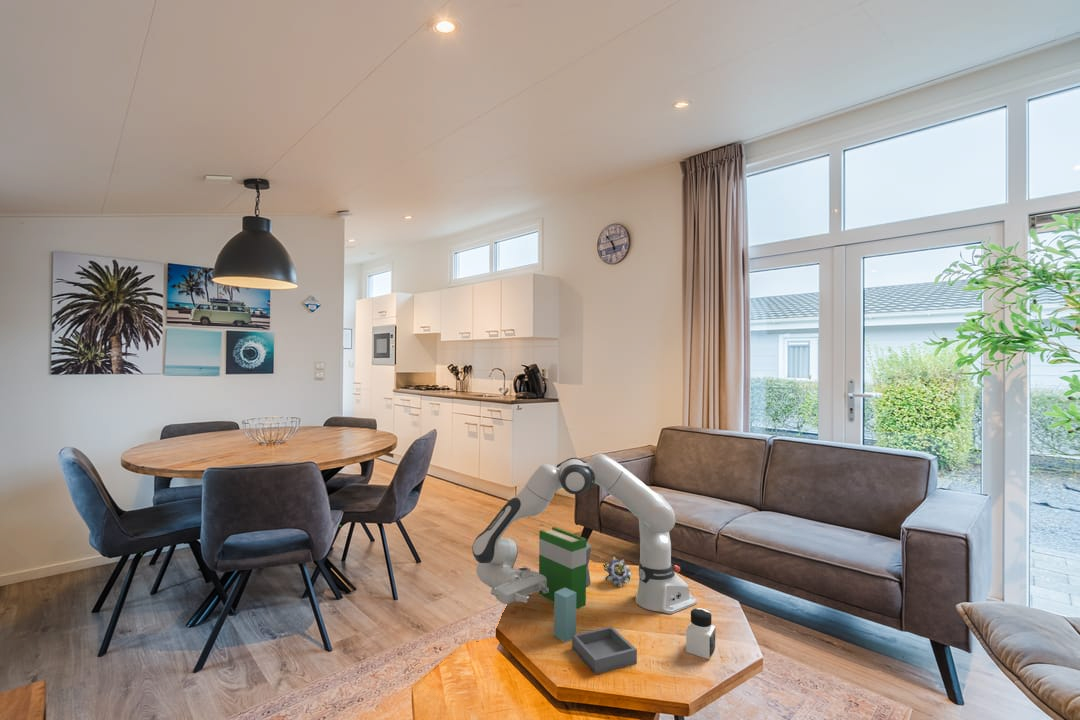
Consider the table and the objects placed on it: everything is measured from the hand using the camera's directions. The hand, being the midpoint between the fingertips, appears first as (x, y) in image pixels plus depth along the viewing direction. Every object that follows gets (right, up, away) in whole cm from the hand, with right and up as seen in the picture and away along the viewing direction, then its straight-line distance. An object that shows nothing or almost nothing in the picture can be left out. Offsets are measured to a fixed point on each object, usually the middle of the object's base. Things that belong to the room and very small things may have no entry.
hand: (537, 595), depth 166 cm
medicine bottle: (+50, -9, -16) cm, 53 cm away
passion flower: (+32, -10, +32) cm, 46 cm away
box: (+20, -9, -19) cm, 29 cm away
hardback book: (+9, -10, +16) cm, 21 cm away
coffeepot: (+16, -10, +32) cm, 37 cm away
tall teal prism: (+9, -9, -9) cm, 15 cm away
